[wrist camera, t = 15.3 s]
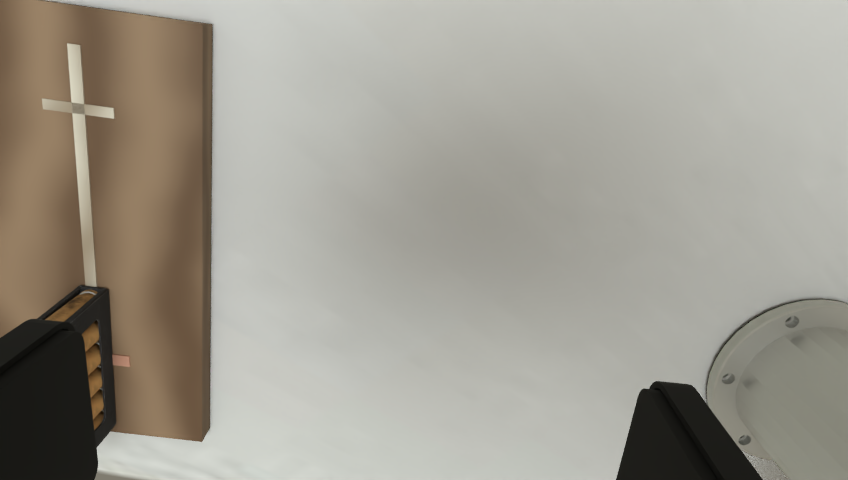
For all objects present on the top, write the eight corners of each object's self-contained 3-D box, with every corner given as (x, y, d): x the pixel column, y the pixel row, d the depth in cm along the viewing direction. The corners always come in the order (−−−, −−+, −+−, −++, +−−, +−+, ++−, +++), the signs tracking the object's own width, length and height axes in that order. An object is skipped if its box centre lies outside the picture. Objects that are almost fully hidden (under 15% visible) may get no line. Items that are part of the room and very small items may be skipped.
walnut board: (212, 24, 32) (201, 23, 31) (209, 427, 42) (201, 442, 40) (-40, -12, 32) (-64, -14, 30) (15, 405, 41) (0, 419, 40)
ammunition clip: (116, 425, 40) (-8, 581, 28) (89, 422, 40) (-46, 577, 28) (108, 288, 36) (-38, 403, 25) (78, 284, 36) (-81, 398, 25)
